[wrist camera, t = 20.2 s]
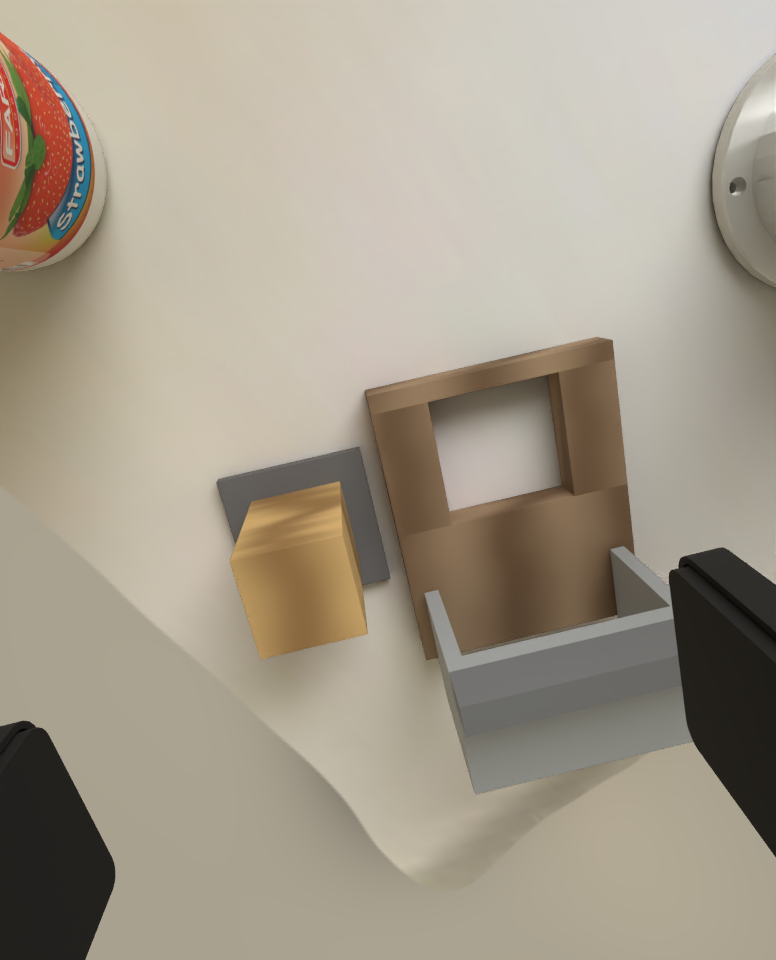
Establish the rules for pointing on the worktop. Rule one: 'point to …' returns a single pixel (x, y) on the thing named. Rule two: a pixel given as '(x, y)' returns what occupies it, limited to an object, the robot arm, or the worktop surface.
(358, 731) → the worktop surface
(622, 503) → the board
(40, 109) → the fruit juice
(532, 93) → the worktop surface
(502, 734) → the cover
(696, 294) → the worktop surface
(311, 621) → the block
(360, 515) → the mat
